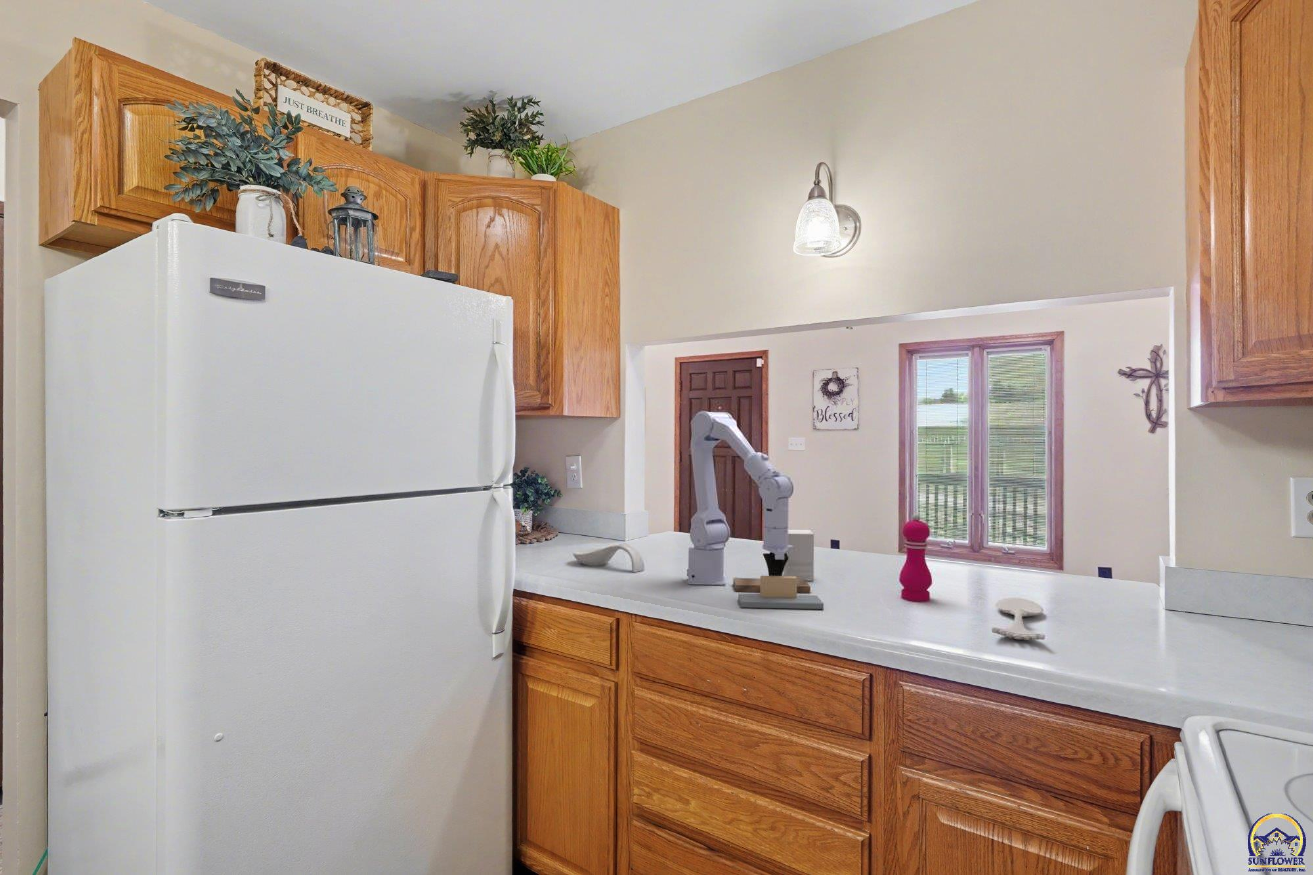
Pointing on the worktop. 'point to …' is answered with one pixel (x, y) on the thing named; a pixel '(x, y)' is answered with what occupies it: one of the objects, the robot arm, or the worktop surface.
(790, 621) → the worktop surface
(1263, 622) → the worktop surface
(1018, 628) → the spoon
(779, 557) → the robot arm
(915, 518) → the pepper mill
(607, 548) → the spoon rest
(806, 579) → the supplement box
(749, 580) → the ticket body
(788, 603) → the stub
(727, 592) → the worktop surface
